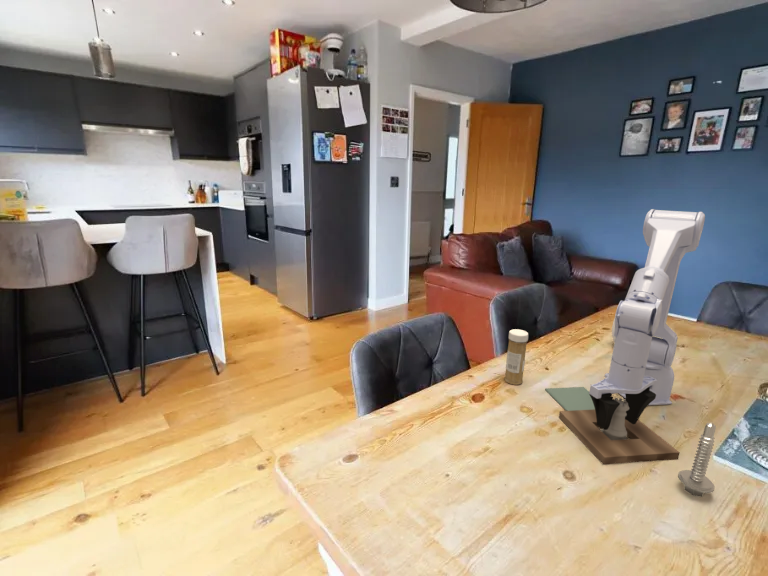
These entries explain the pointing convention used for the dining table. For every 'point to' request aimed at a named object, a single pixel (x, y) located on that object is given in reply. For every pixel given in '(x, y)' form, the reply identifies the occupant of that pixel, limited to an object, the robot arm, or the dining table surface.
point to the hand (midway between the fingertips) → (616, 424)
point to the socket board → (635, 449)
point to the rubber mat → (572, 398)
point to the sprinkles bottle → (516, 356)
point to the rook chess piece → (618, 422)
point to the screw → (700, 465)
